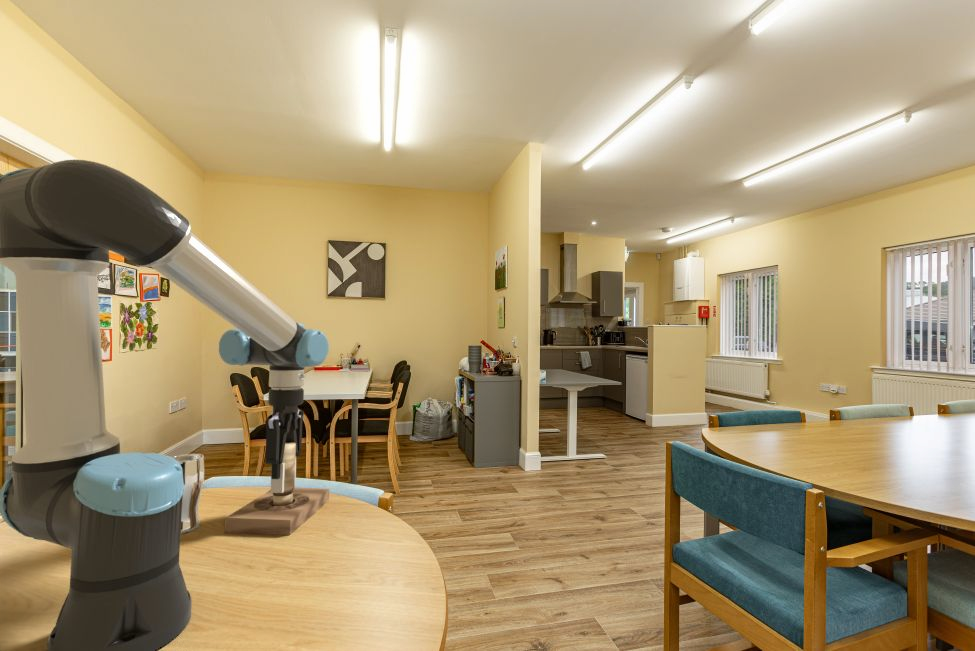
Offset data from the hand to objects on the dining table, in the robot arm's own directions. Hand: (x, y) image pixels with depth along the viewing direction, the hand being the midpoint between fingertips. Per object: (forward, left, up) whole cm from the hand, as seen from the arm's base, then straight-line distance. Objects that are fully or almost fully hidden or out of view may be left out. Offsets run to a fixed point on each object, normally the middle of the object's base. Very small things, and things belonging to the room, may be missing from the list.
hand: (283, 488), depth 102 cm
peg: (0, 0, -4) cm, 4 cm away
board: (0, 0, -6) cm, 6 cm away
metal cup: (-9, +17, -6) cm, 20 cm away
